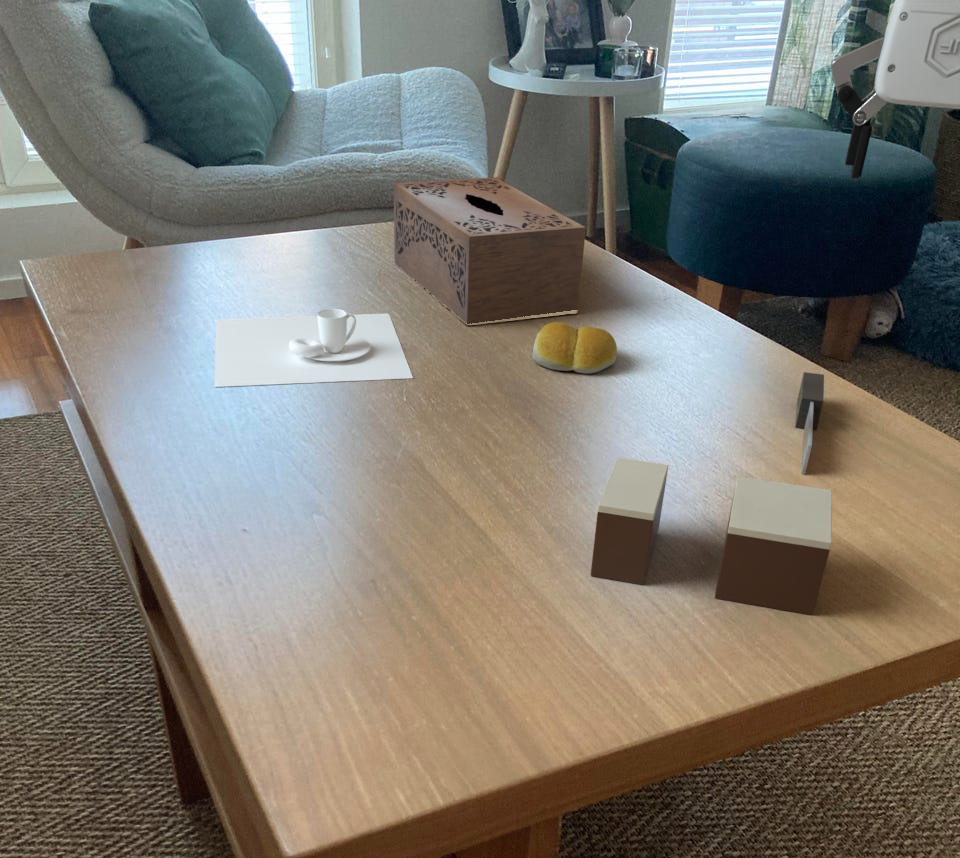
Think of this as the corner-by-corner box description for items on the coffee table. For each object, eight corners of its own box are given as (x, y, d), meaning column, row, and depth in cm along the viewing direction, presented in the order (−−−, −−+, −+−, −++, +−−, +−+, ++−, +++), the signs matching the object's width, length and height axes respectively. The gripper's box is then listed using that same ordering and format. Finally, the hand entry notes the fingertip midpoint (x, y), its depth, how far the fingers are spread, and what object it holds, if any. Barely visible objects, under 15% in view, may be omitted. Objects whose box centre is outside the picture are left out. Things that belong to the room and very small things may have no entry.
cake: (813, 559, 79) (832, 489, 76) (812, 615, 73) (832, 542, 70) (723, 544, 81) (737, 475, 77) (714, 598, 74) (728, 526, 71)
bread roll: (614, 378, 108) (618, 341, 105) (529, 371, 108) (531, 334, 106) (617, 350, 114) (621, 314, 112) (536, 344, 115) (539, 308, 113)
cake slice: (658, 533, 82) (668, 464, 78) (643, 585, 76) (654, 513, 72) (608, 524, 83) (616, 456, 79) (590, 576, 76) (598, 504, 73)
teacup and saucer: (291, 367, 107) (287, 328, 105) (287, 340, 113) (284, 303, 111) (374, 363, 109) (373, 325, 106) (366, 337, 115) (365, 300, 112)
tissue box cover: (394, 263, 138) (393, 183, 132) (493, 254, 143) (496, 177, 137) (466, 326, 119) (469, 236, 113) (578, 314, 124) (585, 227, 118)
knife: (797, 400, 104) (803, 371, 103) (817, 402, 104) (824, 374, 102) (791, 472, 91) (798, 441, 89) (814, 476, 91) (822, 445, 89)
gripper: (860, -71, 75) (808, 180, 85) (1117, -59, 72) (1031, 201, 82) (858, -73, 81) (809, 162, 91) (1095, -62, 78) (1018, 181, 88)
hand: (914, 180), depth 86 cm, fingers open, 9 cm apart
